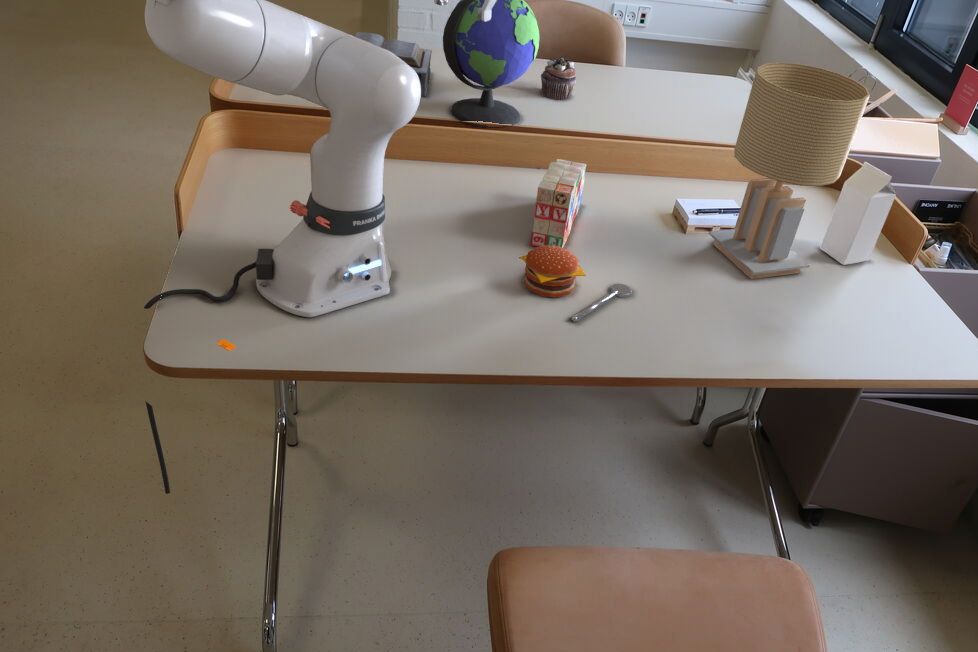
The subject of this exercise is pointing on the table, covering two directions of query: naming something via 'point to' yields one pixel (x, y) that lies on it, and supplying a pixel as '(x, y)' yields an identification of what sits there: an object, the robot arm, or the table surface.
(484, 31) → the globe
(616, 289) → the metal handle tool
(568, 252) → the hamburger
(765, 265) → the desk lamp
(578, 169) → the stack of blocks
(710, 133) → the table surface
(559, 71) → the cupcake
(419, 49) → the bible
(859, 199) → the milk carton
